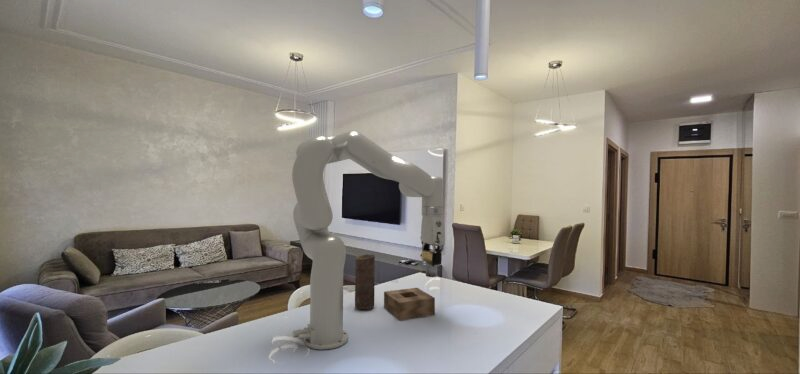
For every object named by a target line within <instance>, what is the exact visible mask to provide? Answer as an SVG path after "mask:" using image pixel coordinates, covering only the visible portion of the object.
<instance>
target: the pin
mask: <svg viewBox="0 0 800 374" xmlns="http://www.w3.org/2000/svg"><path fill="white" fill-rule="evenodd" d="M432 253H434V252H433V249H431V250H423V251H422V250H421V261H422V262H425V277H427V278H436V277H438V265H433V264H432ZM442 256H443V252H442V253H441V262H442V261H443V257H442Z"/></svg>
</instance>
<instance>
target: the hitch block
mask: <svg viewBox="0 0 800 374" xmlns="http://www.w3.org/2000/svg"><path fill="white" fill-rule="evenodd" d="M435 299H436V297H434V296H432V295H431V294H429V293H427V292H425V291H424V290H422V289H420V288H418V287H412V288H411V287H410V288H403V289H395V290H386V291H384V292H383V308H384V309H385V310H386V311H387V312H388V313H390V315H392V316H393V317H394V318H395V319H397V320H398V321H404V320H410V319H415V318H423V317H429V315H430V316H434V315H435V314H436V313H435V312H436V309H435V308H436V301H435Z"/></svg>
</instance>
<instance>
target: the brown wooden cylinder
mask: <svg viewBox="0 0 800 374" xmlns="http://www.w3.org/2000/svg"><path fill="white" fill-rule="evenodd" d="M375 257H376V255H375V254H372V253H370V254H358V255H356V257H355V272H354V273H355V278H354V279H355V280H354V281H355V283H354V284H355V285H354V307H355V308H356V309H358V310H367V309H368V310H369V309H371V308H374V307H375V271H376V270H375V269H376V268H375V263H376V262H375Z"/></svg>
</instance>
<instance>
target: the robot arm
mask: <svg viewBox="0 0 800 374" xmlns="http://www.w3.org/2000/svg"><path fill="white" fill-rule="evenodd" d="M344 160H345V161H346V160H351V161H352V162H354V163H355V164H357V165H359V166H360V167H362V168H363V169H364V170H367V171H368V172H370V173H371V174H373V175H374V176H376V177H378V178H381V179H385V180H391V181H394V182H397V183H399V184H398V189H399V191H400V193H401V194H402V195H403V196H404V197H408V198H421V216H422V217H421V226H420V241H421V249H422V250H421V252H422V251H423V250H433V252H434V253H432V264H433V265H437V266H438V265H442V261H441V253H442V254H443V249H444V246H445V245H446V232H445V230H446V229H445V226H446V225H445V219H444V179H443V177H441V176H435V175H434V176H431V175H429V173H428V172H426V171H425V170H424V169H422V168H421V167H419V166H417V165H416V164H414V163H412V162H410V161H408V160H405V159H403V158H401V157H399V156H398V155H394V154H391V153H390V152H389V151H388V150H386V149H384V148H383V147H381V146H379V144H377V143H376V142H374V141H372V139H369V137H367V136H366V135H364V134H363V133H362V132H359V131H357V130H348V131H346V132H342V133H340V134H337V135H332V136H328V137H327V136H326V135H325V136H323V135H316V136H311V137H310V138H307V139H306V140H305V139H304V140H303V141H301V142H300V143H299V144H298V146H297V148H296V158H295V160H294V162H293V166H292V172H291V173H292V175H291V177H292V178H291V179H292V180H291V181H292V185H293V189H294V193H295V198H296V201H297V203H296V204H295V205H294V208H293V212H292V214H293V215H292V217H293V222H294V225H295V229H296V232H297V235H298V239H299V242H300V245H301V248H302V251H303V253H304V255H306V256H307V258H309V259H311V260H312V263H311V270H310V281H309V282H310V284H309V289H310V290H309V292H310V295H309V296H310V298H309V300H310V302H309V306H310V307H309V323H307V327H304V328H303V329H295V330H292V332H293V333H292V337H293V338H298V340H303V341H304V345H306V347H308V348H310V349H313V350H320V351H321V350H332V349H335V348H339V347H341V346H344V345H345V344H346V343H347V342H348V341H349V340H348V339H349V334H348V332H347V331H345V330H344V272H345V271H344V270H345V265H346V258H347V257H346V255H347V248H346V244H345V242H344V241H343V240H342V238H341V237H339V235H337V234H334V233H332V232H330V231H329V228H328V227H330V225H331V224H332V221H333V219H334V218H333V210H332V207H331V203H330V200H329V197H328V194H327V189H326V187H325V181H324V171H325V168H326V166H327V165H328V164H332V163H333V164H334V163H337V162H342V161H344ZM431 246H432V249H431Z"/></svg>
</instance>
